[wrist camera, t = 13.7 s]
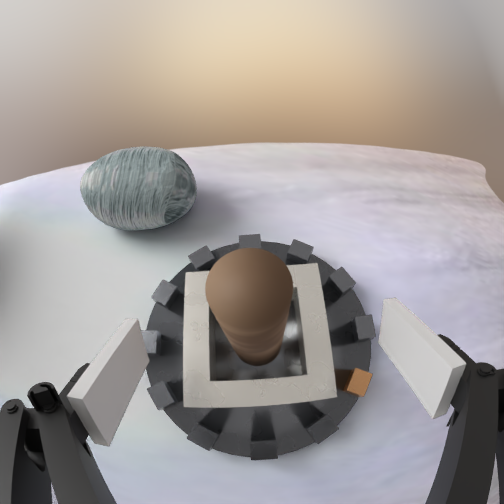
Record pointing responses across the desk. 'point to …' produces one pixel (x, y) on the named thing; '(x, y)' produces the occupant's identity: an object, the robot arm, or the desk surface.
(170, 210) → the grey green streaked ellipsoid
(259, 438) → the sprocket plate
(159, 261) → the desk surface
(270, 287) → the drive pin
